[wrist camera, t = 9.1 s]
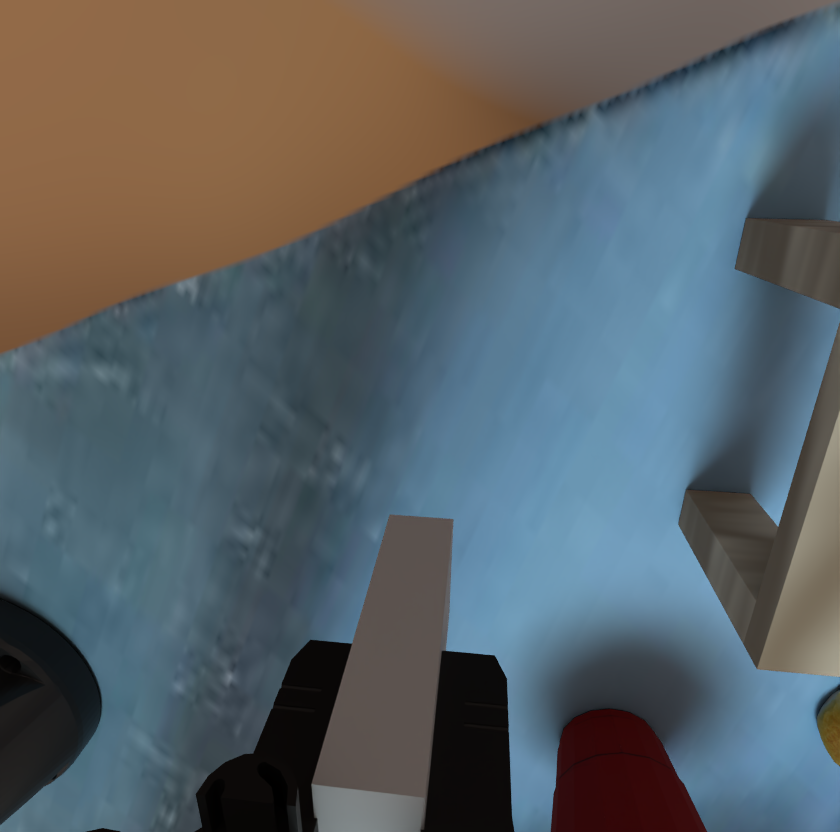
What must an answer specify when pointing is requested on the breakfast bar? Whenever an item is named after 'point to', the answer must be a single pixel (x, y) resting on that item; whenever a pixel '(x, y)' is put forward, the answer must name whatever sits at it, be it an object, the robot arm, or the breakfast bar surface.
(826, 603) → the bridge
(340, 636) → the breakfast bar surface
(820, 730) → the yellow bowl
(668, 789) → the plastic cup
